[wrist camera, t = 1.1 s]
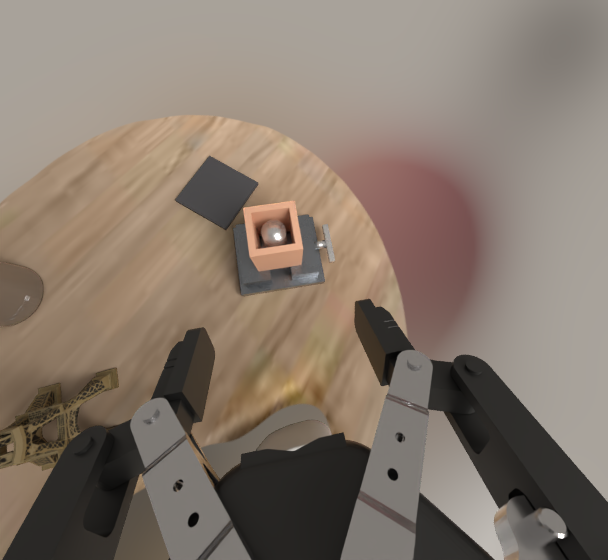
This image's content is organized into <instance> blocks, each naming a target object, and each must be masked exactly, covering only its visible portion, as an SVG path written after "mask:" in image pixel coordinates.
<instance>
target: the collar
mask: <svg viewBox="0 0 608 560" xmlns="http://www.w3.org/2000/svg"><path fill="white" fill-rule="evenodd" d="M243 211H244V218H245V226H246V233H247V241H248V248H249V256H250V258H251V260H252V262H253V263H254V265H255V266H256V268H257V270H258V271H266V270H272V269H279V268H285V267H291V266H298V265H302V256H303V244H302V239H301V233H300V228H299V222H298V217H297V211H296V206H295V201H288V202H280V203H273V204H266V205H259V206H251V207H244V208H243ZM270 220H277V221H280V222H281V223H283V225H284V226H285V229H286V232H287V231H290V233H291V239H292V244H288V245H282V246H275V247H268V248H262V249H261V245H260V238H259V236H260V235H261V229H262V226H263V225H264V224H265V223H266V222H267V221H270Z"/></svg>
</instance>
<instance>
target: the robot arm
mask: <svg viewBox="0 0 608 560" xmlns="http://www.w3.org/2000/svg"><path fill="white" fill-rule="evenodd" d="M42 295H43V284H42V281H41V279H40V277H39V275H38V274H37V273H36V272H34V271H33V270H31V269H29V268H26V267H23V266H18V265H14V264H10V263H5V262H1V261H0V327H4V326H11V325H15V324H18V323H20V322H22V321H24V320H25V319H27V318H28V317H29V316H30V315H31V314H32V313H33V312H34V311H35V310H36V309H37V307H38V306H39V304H40V301H41V299H42ZM355 328H356V332H357V334H358V337H359V339H360V341H361V343H362V345H363V347H364V350H365V352H366V354H367V356H368V358H369V361H370V363H371V365H372V367H373V369H374V371H375V374H376V376H377V378H378V380H379V382H380V385H381V386H385V385H389V390H388V394H387V395H386V398H385V401H384V405H383V409H382V412H381V416H380V420H379V423H378V427H377V430H376V434H375V438H374V441H373V445H372V449H370V448H368V447H367V446H365V445H363V444H360V443H358V442H354V441H350V440H345V436H344V433H339V434H334V435H329V436H325V437H320V438H317V439H316V440H314V441H312V442H310V443H308V444H306V445H304V446H303V447H301V448H299V449H297V450H295V451H287V450H276V449H263V450H259V451H254V452H249V453H245V454H241V463H240V464H238V465H237V466H235V467H234V468H232V469H231V470H230V471H229V472H227V473H226V474H225V475H224V476H223V477H222V478H221V479H219V478H218V476H217V474H216V473H215V472H214V470H213V469H212V467H211V465H210V464H209V462H208V460H207V458H206V457H205V455H204V453H203V451H202V450H201V448H200V446H199V444H198V443H197V441H196V439H195V438H194V436H193V434H192V433H191V429H192V425H193V423H196V422H201V421H202V419H203V414H204V409H205V404H206V399H207V394H208V389H209V384H210V380H211V375H212V370H213V365H214V360H215V350H214V347H213V345H212V342H211V340H210V338H209V336H208V334H207V331H206V329H205V328H204V327H202V328H197V329H191V330H188V331H187V332H186V335H185V338H184V340H183V341H181V342H178V343H177V344H176V345H175V346H174V348H173V349H172V350H171V352H170V354H169V356H168V359H167V362H166V364H165V366H164V370H163V371H162V374H161V376H160V379H159V381H158V384H157V386H156V388H155V391H154V393H153V396H152V398H151V400H150V401H148V402H146V403H145V404H143V405H142V406H141V407H140V408H139V409H138V410H137V411H136V413H135V414H134V416H133V417H132V419H131V420H129V421H127V422H125V423H122V424H120V425H118V426H116V427H114V428H112V429H110V430H106V429H105V428H104V427H103V426H93V427H90V428H88V429H86V430H84V431H83V432H81V433H80V434H78V435H77V436H76V437H75V438H74V439H72V440H71V442H70V443H69V444H68V445H67V446H66V448H65V449H64V451H63V452H62V454H61V456H60V458H59V460H58V461H57V463H56V465H55V467H54V469H53V470H52V472H51V474H50V476H49V477H48V479H47V481H46V483H45V485H44V486H43V488H42V490H41V492H40V493H39V495H38V497H37V499H36V501H35V502H34V504H33V506H32V508H31V509H30V511H29V513H28V515H27V517H26V518H25V520H24V522H23V524H22V525H21V527H20V529H19V531H18V533H17V534H16V536H15V538H14V540H13V542H12V543H11V545H10V547H9V549H8V550H7V552H6V554H5V556H4V558H3V559H2V560H113V559H114V556H115V552H116V549H117V546H118V543H119V539H120V536H121V533H122V529H123V526H124V523H125V520H126V516H127V513H128V510H129V506H130V503H131V500H132V497H133V493H134V490H135V487H136V483H137V480H138V477H139V474H141V473H142V477H143V481H144V484H145V487H146V489H147V492H148V495H149V498H150V501H151V504H152V507H153V510H154V513H155V516H156V518H157V521H158V524H159V527H160V530H161V533H162V536H163V539H164V542H165V545H166V547H167V550H168V553H169V555H170V558H169V560H494V559H493V558H492V557H491V556H490V555H489V554H488V553H487V552H486V551H485V550H484V549H483V548H482V547H480V546H479V545H478V544H477V543H476V542H475V541H474V540H473V539H472V538H470V537H469V536H468V535H467V534H466V533H465V532H464V531H463V530H461V529H460V528H459V527H458V526H457V525H456V524H455V523H454V522H453V521H451V520H450V519H449V518H448V517H447V516H446V515H445V514H444V513H443V512H441V511H440V510H439V509H438V508H437V507H436V506H435V505H434V504H432V503H431V502H430V501H429V500H428V499H427V498H426V497H424V495H423V494H421V493H420V484H421V476H422V467H423V459H424V451H425V442H426V435H427V426H428V418H429V412H428V409H430V410H437V411H444V413H445V415H446V416H447V418H448V420H449V422H450V424H451V425H452V427H453V429H454V431H455V432H456V434H457V436H458V437H459V439H460V441H461V443H462V445H463V446H464V448H465V450H466V452H467V453H468V455H469V457H470V459H471V460H472V462H473V464H474V466H475V467H476V469H477V471H478V473H479V475H480V476H481V478H482V480H483V482H484V483H485V485H486V487H487V488H488V490H489V492H490V494H491V495H492V497H493V499H494V501H495V503H496V504H497V506H498V508H499V510H498V511H497V512H496V514H495V517H494V525H495V531H496V534H497V536H498V539H499V541H500V544H501V546H502V549H503V554H504V560H608V502H607V501H606V500H605V498H604V497H603V496H602V495H601V494H600V493H599V492H598V490H597V489H596V488H595V487H594V486H593V485H592V483H591V482H590V481H589V480H588V479H587V478H586V477H585V475H584V474H583V473H582V472H581V471H580V470H579V469H578V467H577V466H576V465H575V464H574V463H573V462H572V460H571V459H570V458H569V457H568V456H567V455H566V454H565V452H564V451H563V450H562V449H561V448H560V447H559V445H558V444H557V443H556V442H555V441H554V440H553V439H552V438H551V436H550V435H549V434H548V433H547V432H546V431H545V429H544V428H543V427H542V426H541V425H540V424H539V422H538V421H537V420H536V419H535V418H534V417H533V416H532V414H531V413H530V412H529V411H528V410H527V409H526V407H525V406H524V405H523V404H522V403H521V402H520V401H519V399H517V397H516V396H515V395H514V394H513V392H512V391H511V390H510V389H509V388H508V387H507V386H506V385H505V383H504V382H503V381H502V380H501V379H500V378H499V376H498V375H497V374H496V373H495V372H494V371H493V369H492V368H491V367H490V366H489V365H488V364H487V363H486V362H484V361H483V360H481V359H479V358H477V357H475V356H471V355H460V356H457V357H456V358H455V359H454V362H444V361H434V360H430V359H429V358H428V357H427V356H426V355H424V354H423V353H421V352H418V351H416V350H415V349H414V348H413V346H412V345H411V343H410V342H409V341H408V339H407V338H406V336H405V335H404V333H403V332H402V330H401V329H400V327H398V324H397V323H396V321H394V319H393V317H392V316H391V314H390V313H389V312H388V311H387V310H385V309H384V308H382V307H376V308H375V306H374V304H373V303H372V301H371V300H370V299H365V300H360V301H356V302H355Z"/></svg>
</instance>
